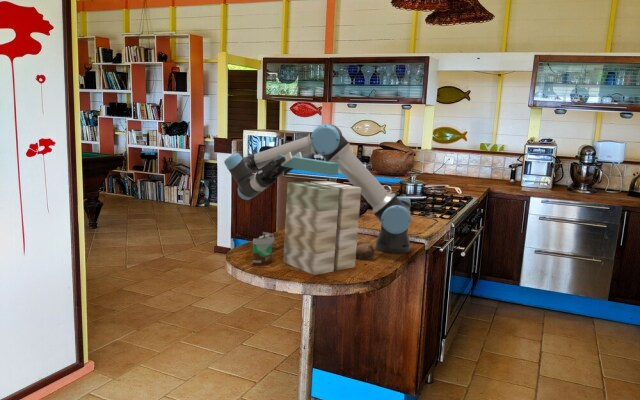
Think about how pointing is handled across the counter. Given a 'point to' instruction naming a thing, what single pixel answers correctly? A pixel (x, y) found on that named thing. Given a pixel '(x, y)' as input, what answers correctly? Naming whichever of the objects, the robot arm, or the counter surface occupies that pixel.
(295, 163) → the beam
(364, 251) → the mushroom
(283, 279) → the counter surface
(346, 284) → the counter surface
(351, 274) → the counter surface
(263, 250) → the food container
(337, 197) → the block stand
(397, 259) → the counter surface
